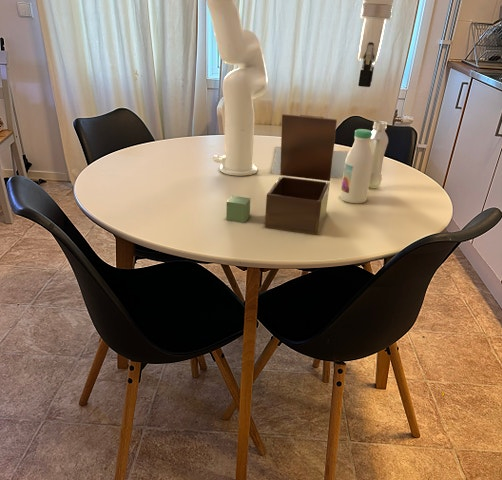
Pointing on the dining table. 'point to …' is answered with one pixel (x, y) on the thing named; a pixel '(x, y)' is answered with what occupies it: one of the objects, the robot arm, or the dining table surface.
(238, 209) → the green cube
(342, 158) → the architectural model
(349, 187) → the milk bottle
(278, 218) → the tea box
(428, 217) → the dining table surface
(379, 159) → the plastic bottle
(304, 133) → the tea box lid
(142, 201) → the dining table surface
